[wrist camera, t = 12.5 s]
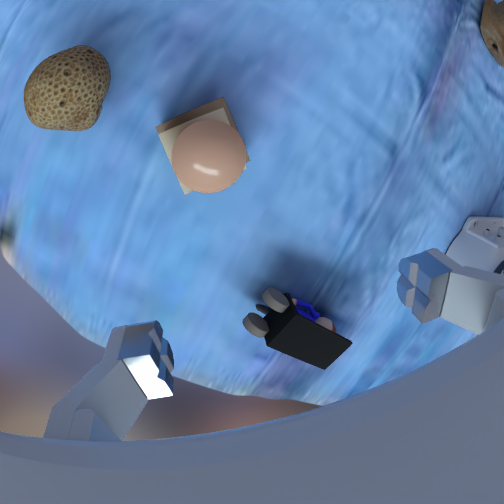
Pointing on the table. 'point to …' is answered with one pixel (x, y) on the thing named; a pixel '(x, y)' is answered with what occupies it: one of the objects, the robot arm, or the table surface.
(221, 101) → the tower base
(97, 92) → the natural sponge
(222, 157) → the tan rounded cylinder
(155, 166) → the table surface
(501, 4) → the stone cup
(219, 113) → the tower top
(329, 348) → the toy car
